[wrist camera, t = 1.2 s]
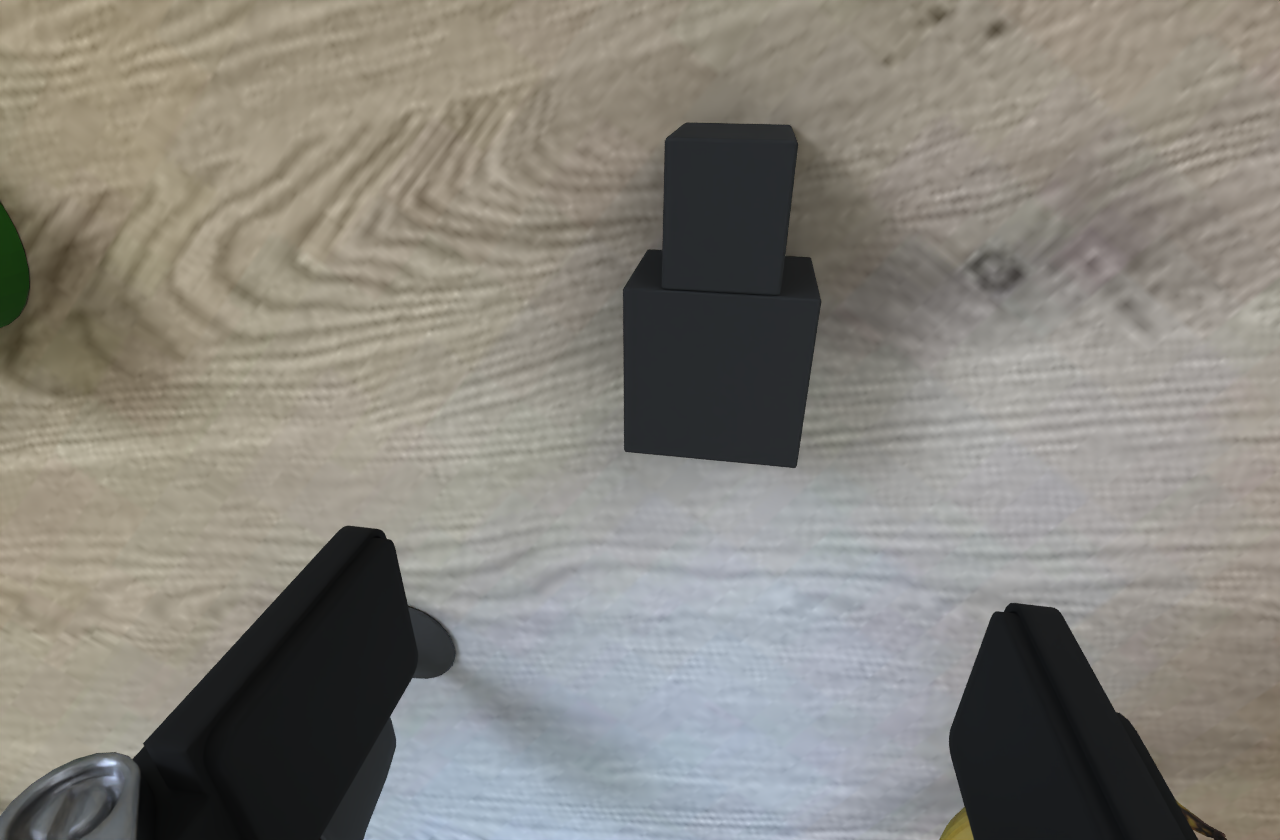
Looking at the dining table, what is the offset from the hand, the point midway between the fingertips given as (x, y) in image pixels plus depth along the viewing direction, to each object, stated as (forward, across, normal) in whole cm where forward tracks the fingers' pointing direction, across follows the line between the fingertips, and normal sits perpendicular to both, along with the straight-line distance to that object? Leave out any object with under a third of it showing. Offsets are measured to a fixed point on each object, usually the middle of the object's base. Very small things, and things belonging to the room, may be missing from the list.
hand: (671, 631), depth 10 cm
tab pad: (+13, 0, -2) cm, 13 cm away
